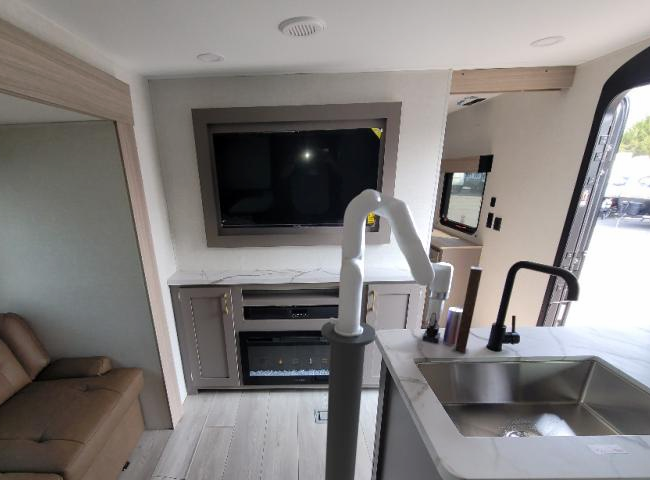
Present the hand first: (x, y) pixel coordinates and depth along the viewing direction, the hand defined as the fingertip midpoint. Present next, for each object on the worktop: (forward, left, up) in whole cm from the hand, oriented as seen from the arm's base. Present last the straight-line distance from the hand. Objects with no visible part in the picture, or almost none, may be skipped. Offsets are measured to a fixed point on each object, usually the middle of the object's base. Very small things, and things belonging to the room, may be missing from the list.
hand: (431, 333), depth 138 cm
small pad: (0, 0, +1) cm, 1 cm away
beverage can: (+8, +1, -3) cm, 8 cm away
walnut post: (+12, -4, -3) cm, 13 cm away
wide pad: (0, 0, -3) cm, 3 cm away
